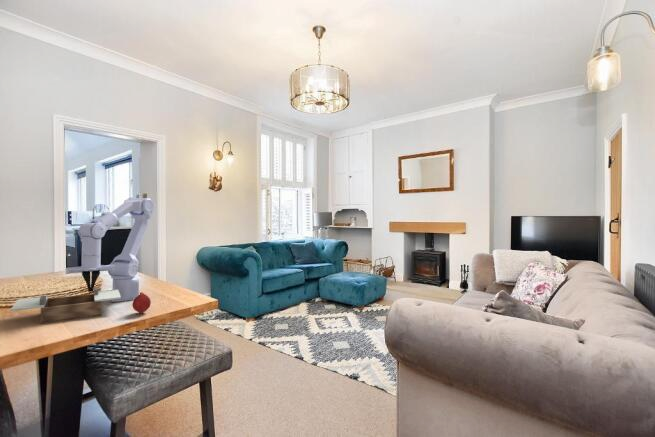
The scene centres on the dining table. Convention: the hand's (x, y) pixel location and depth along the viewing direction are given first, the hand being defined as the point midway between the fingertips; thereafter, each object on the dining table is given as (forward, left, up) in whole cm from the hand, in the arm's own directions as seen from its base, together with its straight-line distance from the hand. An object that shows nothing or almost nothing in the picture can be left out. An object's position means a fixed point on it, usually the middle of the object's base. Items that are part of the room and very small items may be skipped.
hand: (90, 291), depth 119 cm
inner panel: (-5, +3, -2) cm, 6 cm away
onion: (-15, +14, -7) cm, 22 cm away
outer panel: (+16, +3, -2) cm, 17 cm away
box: (+5, +3, -7) cm, 9 cm away
